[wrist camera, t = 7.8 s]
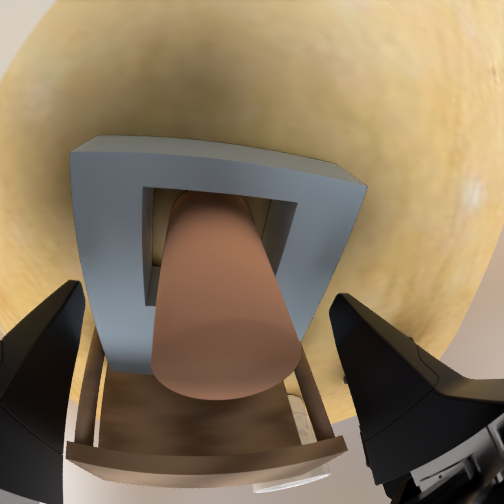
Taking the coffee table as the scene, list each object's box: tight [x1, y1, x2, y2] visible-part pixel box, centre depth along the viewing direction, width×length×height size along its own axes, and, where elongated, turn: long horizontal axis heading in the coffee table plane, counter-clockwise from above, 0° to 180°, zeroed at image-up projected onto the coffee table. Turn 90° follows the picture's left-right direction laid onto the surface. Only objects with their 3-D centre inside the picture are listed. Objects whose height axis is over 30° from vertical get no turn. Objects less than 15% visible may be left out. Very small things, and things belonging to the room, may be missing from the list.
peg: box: [151, 190, 302, 400], centre depth 10 cm, size 4×4×8 cm
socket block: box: [70, 135, 368, 375], centre depth 13 cm, size 11×13×3 cm
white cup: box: [252, 395, 331, 493], centre depth 23 cm, size 8×8×10 cm
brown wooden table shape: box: [66, 326, 348, 488], centre depth 15 cm, size 14×7×10 cm, turn 78°
